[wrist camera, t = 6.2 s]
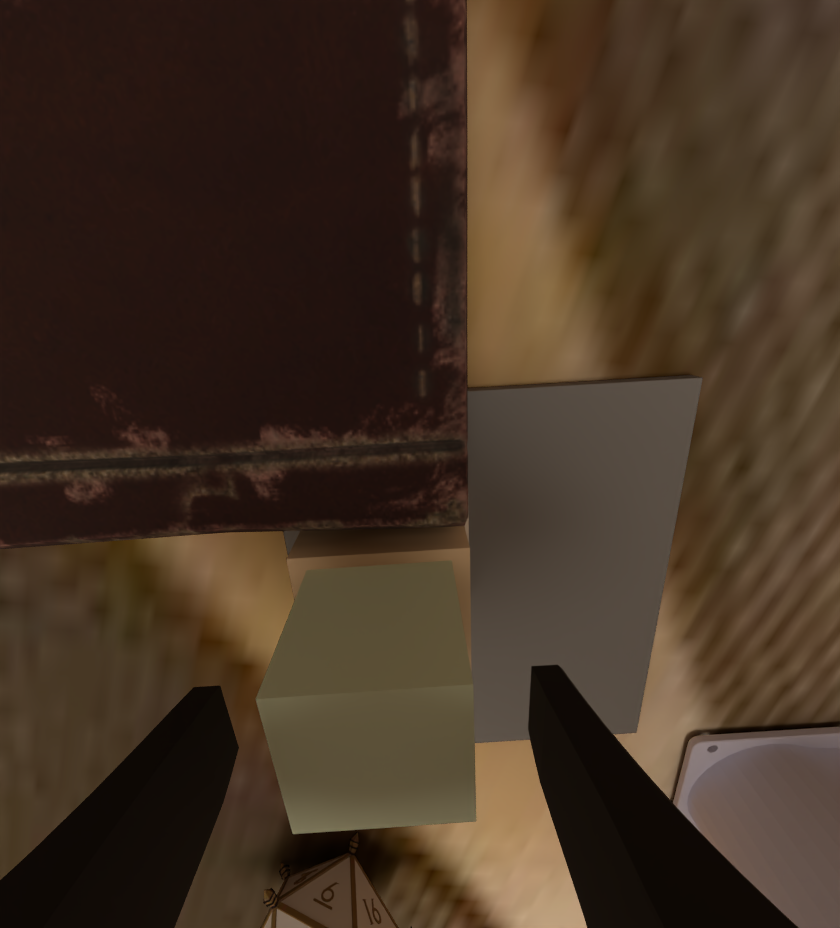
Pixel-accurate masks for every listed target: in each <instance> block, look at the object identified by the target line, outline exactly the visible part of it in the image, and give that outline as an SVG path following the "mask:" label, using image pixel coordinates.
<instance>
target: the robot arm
mask: <svg viewBox="0 0 840 928" xmlns="http://www.w3.org/2000/svg"><path fill="white" fill-rule="evenodd" d="M528 731H529V736H530V740H531V745H532V749H533V754H534V758H535V762H536V767H537V771H538V775H539V779H540V783H541V786H542V789H543V792H544V796H545V799H546V802H547V805H548V808H549V811H550V814H551V817H552V820H553V823H554V826H555V829H556V832H557V835H558V839H559V842H560V845H561V848H562V851H563V854H564V857H565V860H566V863H567V866H568V869H569V872H570V875H571V878H572V881H573V884H574V887H575V890H576V893H577V896H578V899H579V902H580V906H581V909H582V912H583V915H584V918H585V921H586V925H587V928H840V726H839V727H823V728H808V729H792V730H776V731H761V732H745V733H729V734H714V735H699V736H695V737H692V738H691V739H690V740H689V742H688V745H687V749H686V753H685V757H684V761H683V765H682V769H681V773H680V777H679V781H678V785H677V789H676V793H675V797H674V801H673V803H672V802H671V800H670V799H669V798H668V797H667V796H666V795H665V794H664V793H663V792H662V791H661V790H660V788H659V787H658V786H657V785H656V784H655V783H654V782H653V781H652V779H651V778H650V777H649V776H648V775H647V774H646V773H645V772H644V770H643V769H642V768H641V767H640V766H639V765H638V763H637V762H636V761H635V760H634V759H633V758H632V756H631V755H630V754H629V753H628V752H627V750H626V749H625V748H624V747H623V746H622V745H621V743H620V742H619V741H618V740H617V739H616V737H615V736H614V735H613V734H612V733H611V731H610V730H609V729H608V728H607V726H606V725H605V724H604V723H603V722H602V720H601V719H600V718H599V716H598V715H597V714H596V713H595V711H594V710H593V709H592V708H591V706H590V705H589V704H588V702H587V701H586V700H585V699H584V697H583V696H582V695H581V693H580V692H579V691H578V689H577V688H576V687H575V685H574V684H573V683H572V681H571V680H570V679H569V677H568V676H567V674H566V673H565V672H564V670H563V669H562V668H561V667H560V666H559V665H543V666H531V683H530V702H529V720H528ZM238 748H239V747H238V744H237V740H236V737H235V734H234V730H233V727H232V724H231V720H230V717H229V714H228V710H227V707H226V704H225V700H224V697H223V694H222V690H221V687H220V686H207V687H194V688H193V689H192V690H191V691H190V692H189V693H188V694H187V695H186V696H185V697H184V698H183V699H182V700H181V701H180V702H179V703H178V704H177V705H176V706H175V707H174V708H173V709H172V710H171V711H170V712H169V713H168V715H167V716H166V717H165V718H164V719H163V720H162V721H161V722H160V723H159V724H158V725H157V726H156V727H155V728H154V729H153V730H152V731H151V732H150V733H149V735H148V736H147V737H146V738H145V739H144V740H143V741H142V742H141V743H140V744H139V745H138V746H137V747H136V748H135V749H134V750H133V751H132V752H131V753H130V754H129V755H128V756H127V758H126V759H125V760H124V761H123V762H122V763H121V764H120V765H119V766H118V767H117V768H116V769H115V770H114V771H113V772H112V773H111V774H110V775H109V776H108V777H107V778H106V779H105V780H104V781H103V782H102V783H101V784H100V785H99V786H98V787H97V788H96V789H95V790H94V791H93V792H92V793H91V794H90V795H89V796H88V797H87V798H86V799H85V800H84V801H83V802H82V803H81V804H80V805H79V806H78V807H77V808H76V809H75V810H74V811H73V812H72V813H71V814H70V815H69V816H68V817H67V818H66V819H65V820H64V821H63V822H62V823H61V824H60V825H59V826H57V827H56V828H55V829H54V830H53V831H52V832H51V833H50V834H49V835H48V836H47V837H46V838H45V839H44V840H43V841H42V842H41V843H40V844H39V845H38V846H37V847H36V848H35V849H34V850H33V851H32V852H31V853H29V854H28V855H27V856H26V857H25V858H24V859H23V860H22V861H21V862H20V863H19V864H18V865H17V866H15V867H14V868H13V869H12V870H11V871H10V872H9V873H8V874H7V875H6V876H4V877H3V878H2V879H1V880H0V928H174V927H175V925H176V922H177V919H178V917H179V914H180V912H181V909H182V907H183V904H184V902H185V899H186V897H187V894H188V892H189V889H190V886H191V884H192V881H193V879H194V876H195V874H196V871H197V869H198V866H199V864H200V861H201V859H202V856H203V854H204V851H205V848H206V846H207V843H208V841H209V838H210V836H211V833H212V830H213V828H214V825H215V823H216V820H217V817H218V815H219V812H220V810H221V807H222V804H223V802H224V798H225V795H226V791H227V788H228V785H229V781H230V778H231V774H232V771H233V767H234V763H235V759H236V756H237V752H238Z"/></svg>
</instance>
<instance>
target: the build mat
mask: <svg viewBox="0 0 840 928" xmlns="http://www.w3.org/2000/svg"><path fill="white" fill-rule="evenodd" d="M702 379H703V378H702V377H697V376H693V375H685V376H668V377H651V378H634V379H617V380H600V381H583V382H565V383H548V384H531V385H514V386H497V387H480V388H467V392H468V442H467V451H468V519H467V521H466V524H465V526H464V527H465V531H466V535H467V539H468V542H469V546H470V593H471V674H472V679H473V691H474V739H475V743H484V742H499V741H515V740H530V736H529V731H528V720H529V702H530V683H531V666H543V665H559V666H560V667H561V668H562V669H563V670H564V672H565V673H566V674H567V676H568V677H569V679H570V680H571V681H572V683H573V684H574V685H575V687H576V688H577V689H578V691H579V692H580V693H581V695H582V696H583V697H584V699H585V700H586V701H587V702H588V704H589V705H590V706H591V708H592V709H593V710H594V711H595V713H596V714H597V715H598V716H599V718H600V719H601V720H602V722H603V723H604V724H605V725H606V726H607V728H608V729H609V730H610V731H611V733H612V734H625V733H636V732H637V727H638V722H639V716H640V711H641V706H642V700H643V695H644V689H645V684H646V679H647V673H648V668H649V663H650V657H651V652H652V647H653V641H654V636H655V631H656V625H657V620H658V614H659V609H660V604H661V598H662V593H663V588H664V582H665V577H666V572H667V566H668V561H669V555H670V550H671V545H672V539H673V534H674V529H675V523H676V518H677V513H678V507H679V502H680V496H681V491H682V486H683V480H684V475H685V470H686V464H687V459H688V454H689V448H690V443H691V438H692V432H693V427H694V421H695V416H696V411H697V405H698V400H699V395H700V389H701V384H702ZM299 532H300V531H283V533H284V538H285V543H286V548H287V553H288V555H289V553H290V551H291V549H292V547H293V545H294V543H295V541H296V539H297V536H298V534H299Z"/></svg>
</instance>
